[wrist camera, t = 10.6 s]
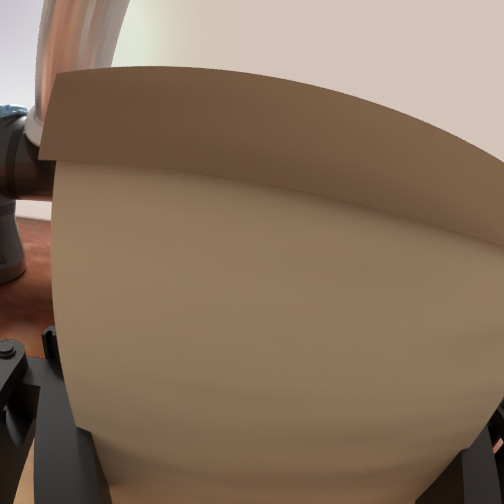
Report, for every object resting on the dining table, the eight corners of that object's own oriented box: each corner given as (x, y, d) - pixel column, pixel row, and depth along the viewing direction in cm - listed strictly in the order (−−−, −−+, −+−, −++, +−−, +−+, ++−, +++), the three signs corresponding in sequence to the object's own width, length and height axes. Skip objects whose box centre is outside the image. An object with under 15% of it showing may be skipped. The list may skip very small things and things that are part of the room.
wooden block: (166, 428, 15) (192, 146, 12) (313, 446, 16) (399, 189, 12) (127, 554, 6) (56, 73, 3) (336, 569, 7) (576, 215, 3)
